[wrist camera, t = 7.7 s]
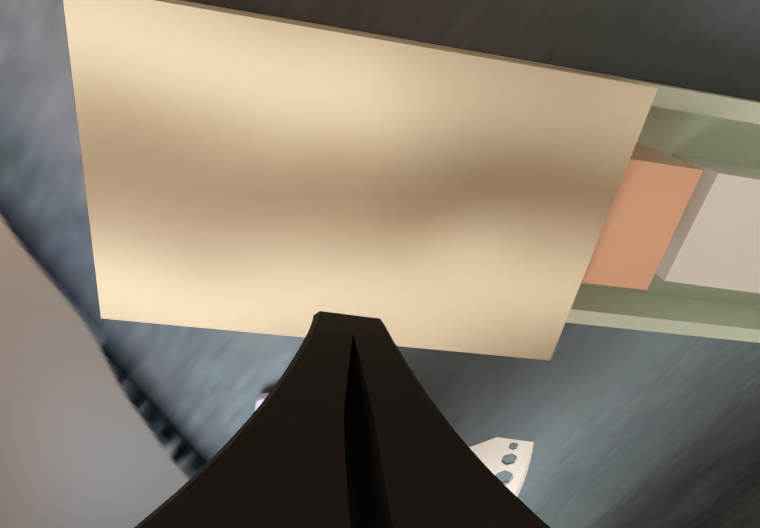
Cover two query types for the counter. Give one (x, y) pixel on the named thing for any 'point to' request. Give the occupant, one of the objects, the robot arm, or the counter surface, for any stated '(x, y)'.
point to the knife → (492, 457)
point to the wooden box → (339, 176)
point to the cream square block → (717, 230)
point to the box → (662, 298)
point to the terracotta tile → (641, 219)
